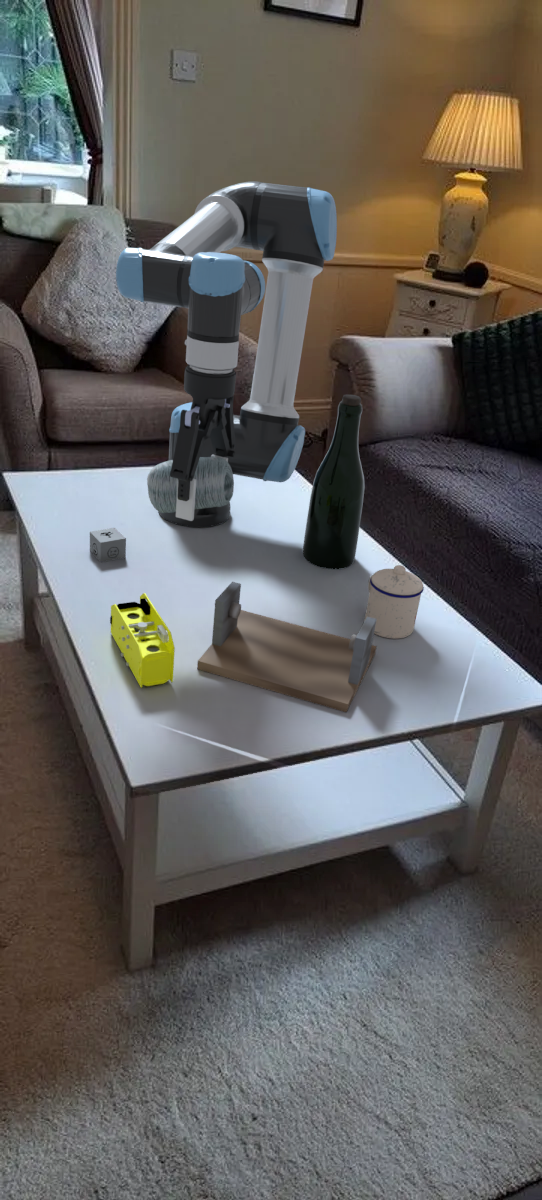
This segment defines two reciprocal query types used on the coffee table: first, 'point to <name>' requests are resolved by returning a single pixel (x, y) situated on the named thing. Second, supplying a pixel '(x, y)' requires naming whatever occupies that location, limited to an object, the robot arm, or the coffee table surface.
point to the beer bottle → (337, 495)
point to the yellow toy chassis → (143, 641)
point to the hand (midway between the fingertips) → (201, 506)
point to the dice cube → (107, 544)
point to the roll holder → (287, 654)
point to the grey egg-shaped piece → (210, 485)
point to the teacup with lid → (394, 601)
